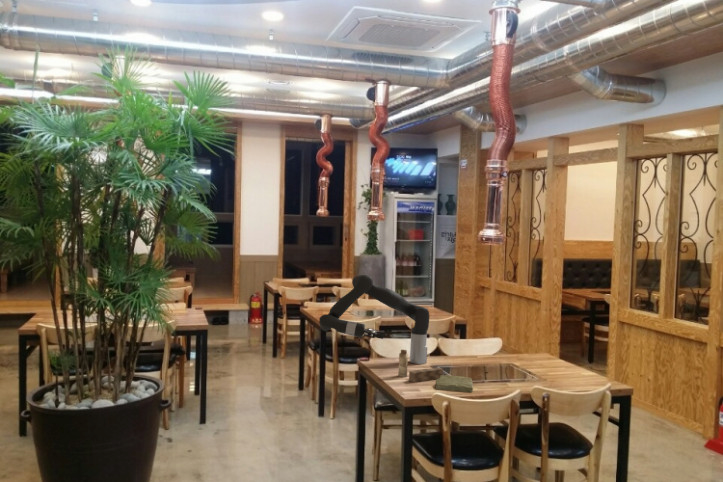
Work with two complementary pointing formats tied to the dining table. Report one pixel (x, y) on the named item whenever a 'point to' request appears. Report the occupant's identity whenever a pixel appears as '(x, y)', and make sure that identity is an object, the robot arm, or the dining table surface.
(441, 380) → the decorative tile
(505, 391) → the dining table surface
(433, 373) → the rail
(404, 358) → the pepper mill
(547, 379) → the dining table surface
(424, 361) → the robot arm
